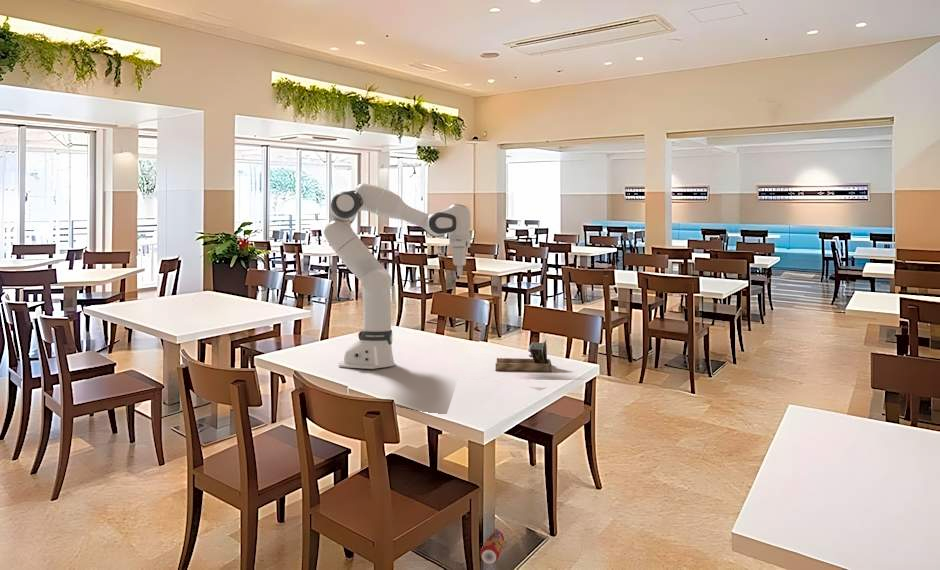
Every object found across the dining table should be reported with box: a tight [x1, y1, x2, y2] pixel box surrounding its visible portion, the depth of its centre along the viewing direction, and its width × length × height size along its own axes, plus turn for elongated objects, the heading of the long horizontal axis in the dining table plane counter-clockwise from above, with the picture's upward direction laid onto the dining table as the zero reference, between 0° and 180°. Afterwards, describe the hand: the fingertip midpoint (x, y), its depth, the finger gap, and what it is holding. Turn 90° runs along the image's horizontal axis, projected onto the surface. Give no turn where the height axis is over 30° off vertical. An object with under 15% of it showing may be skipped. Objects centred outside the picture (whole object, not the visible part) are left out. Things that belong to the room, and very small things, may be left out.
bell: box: [527, 339, 548, 364], centre depth 253 cm, size 10×7×12 cm
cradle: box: [495, 357, 553, 373], centre depth 251 cm, size 22×14×3 cm, turn 86°
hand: (459, 276), depth 261 cm, fingers closed
